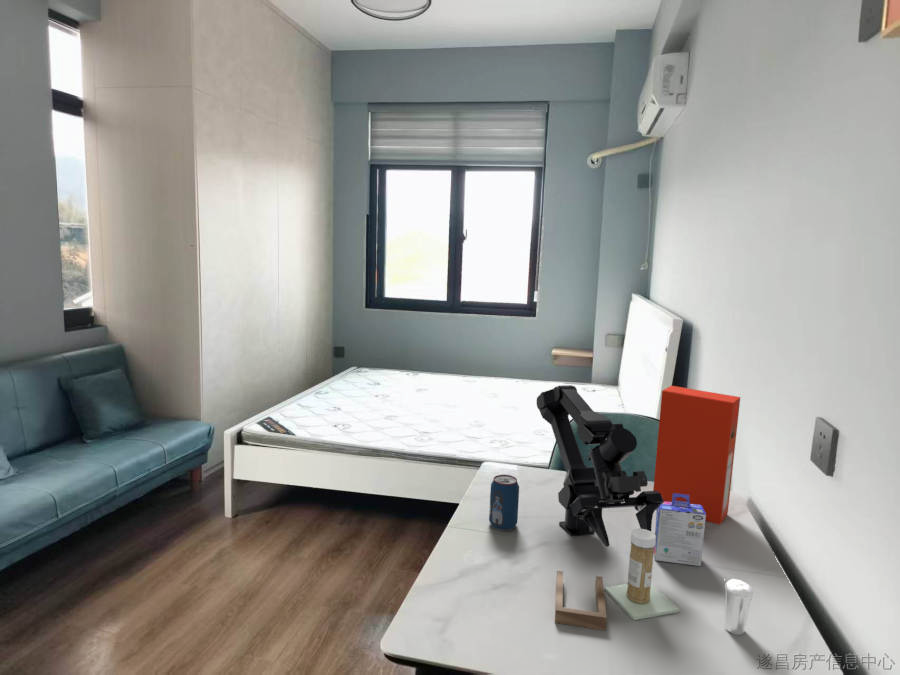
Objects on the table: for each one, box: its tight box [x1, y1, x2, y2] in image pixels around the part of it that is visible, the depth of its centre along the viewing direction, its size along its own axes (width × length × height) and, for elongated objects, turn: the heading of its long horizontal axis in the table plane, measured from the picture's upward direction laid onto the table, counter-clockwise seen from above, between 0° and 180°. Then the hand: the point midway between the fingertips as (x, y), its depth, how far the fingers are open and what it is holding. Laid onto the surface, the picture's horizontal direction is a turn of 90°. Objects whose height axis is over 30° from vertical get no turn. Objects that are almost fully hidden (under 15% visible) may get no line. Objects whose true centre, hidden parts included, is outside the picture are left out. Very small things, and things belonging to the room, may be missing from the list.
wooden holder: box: [554, 570, 608, 631], centre depth 114 cm, size 14×9×2 cm, turn 169°
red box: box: [652, 385, 741, 526], centre depth 155 cm, size 8×17×32 cm, turn 52°
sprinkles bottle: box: [626, 528, 656, 603], centre depth 115 cm, size 5×5×13 cm
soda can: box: [488, 474, 520, 532], centre depth 144 cm, size 7×7×12 cm
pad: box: [603, 583, 680, 621], centre depth 116 cm, size 10×10×1 cm
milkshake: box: [723, 578, 754, 636], centre depth 107 cm, size 4×5×10 cm
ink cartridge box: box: [653, 493, 706, 567], centre depth 132 cm, size 10×6×14 cm, turn 78°
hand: (628, 544), depth 121 cm, fingers open, 9 cm apart
